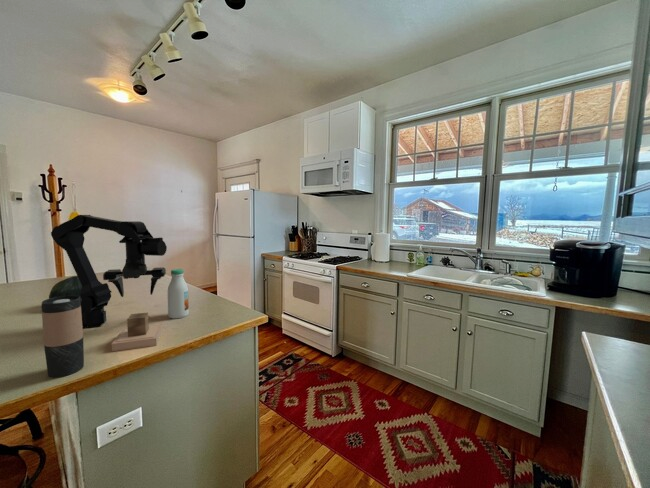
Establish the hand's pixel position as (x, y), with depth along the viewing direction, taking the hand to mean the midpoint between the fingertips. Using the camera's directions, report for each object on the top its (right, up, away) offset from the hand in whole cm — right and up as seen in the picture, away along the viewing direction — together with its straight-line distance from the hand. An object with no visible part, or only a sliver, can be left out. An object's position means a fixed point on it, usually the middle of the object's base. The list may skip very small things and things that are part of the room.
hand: (137, 295), depth 103 cm
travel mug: (+1, -15, -29) cm, 32 cm away
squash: (-44, -9, +21) cm, 49 cm away
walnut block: (+8, -11, -11) cm, 17 cm away
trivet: (+8, -13, -10) cm, 19 cm away
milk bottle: (+9, -11, +13) cm, 19 cm away
